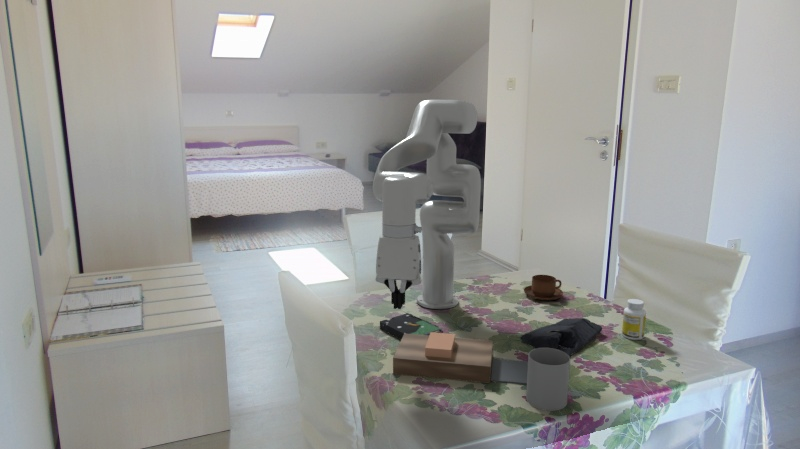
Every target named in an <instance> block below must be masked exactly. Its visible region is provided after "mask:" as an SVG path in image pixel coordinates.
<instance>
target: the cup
mask: <svg viewBox="0 0 800 449" xmlns="http://www.w3.org/2000/svg"><path fill="white" fill-rule="evenodd" d="M570 357H571V356H570ZM570 357H569V355H567V354H566V353H565V352H563V351H560V350H558V349H553V348H537V349H536V348H533V349H531V350H529V352H528V359H527V361H528V373H527V384H526V398H525V399H526V402H527V404H529V405H530V406H531V407H534V408H536V409H537V410H541V411H546V412H550V411H551V412H552V411H553V412H555V411H560V410H563V409H564V408H565V407H566V406H567V405H568V394H569V382H570V381H569V380H570V379H569V378H570V368H571V358H570Z"/></svg>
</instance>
